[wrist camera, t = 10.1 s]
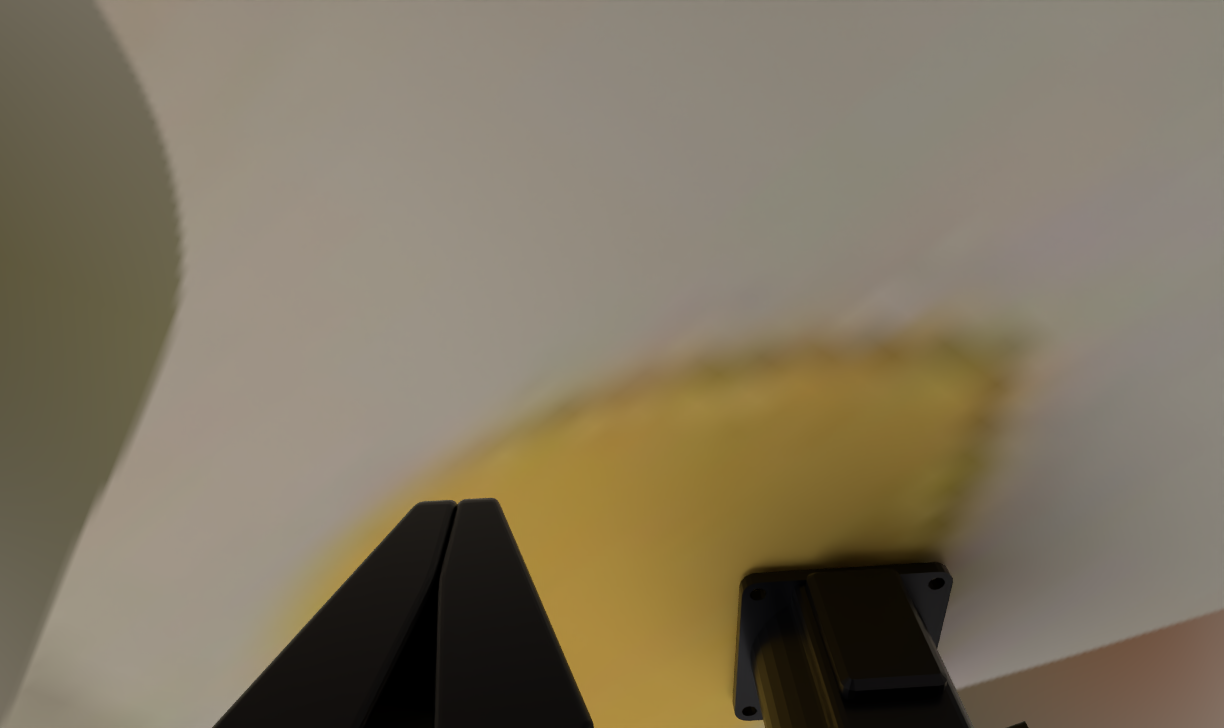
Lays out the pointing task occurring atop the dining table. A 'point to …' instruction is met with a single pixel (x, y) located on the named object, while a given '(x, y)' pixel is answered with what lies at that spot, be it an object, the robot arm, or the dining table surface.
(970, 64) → the dining table surface
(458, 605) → the robot arm
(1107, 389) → the dining table surface
